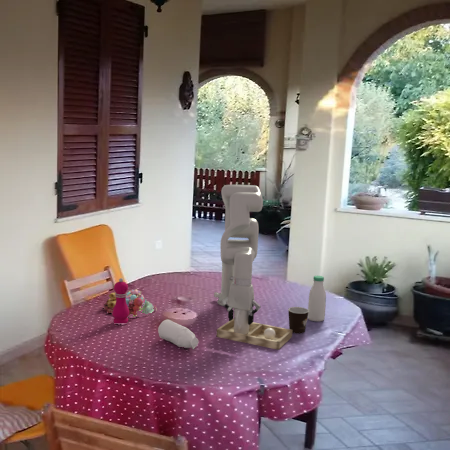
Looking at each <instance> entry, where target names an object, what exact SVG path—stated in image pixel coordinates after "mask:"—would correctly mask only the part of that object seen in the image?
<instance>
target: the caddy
mask: <svg viewBox="0 0 450 450" xmlns="http://www.w3.org/2000/svg"><path fill="white" fill-rule="evenodd" d="M267 328H272V329H273V330H274V331H275V334H276V335H275V338H274V339H272V340H270V339H266V338H265V337H264V331H265V330H266V329H267ZM292 331H293V330H291V329H289V328H285V327H279V326H274V325H269V324H264V323H258V322H254V321H253V323H252V324H250V325H249V333H248V334H240V333H236V332H234V317H233V320H231V321H229V320H228V321H227V322H225V323H224V324H223V325H221V326H220V327H218V328H217V329H216V337H217V338H219V339H220V338H222V339H226V340H230V341H234V342H239V343H240V342H241V343H245V344H249V345H255V346H259V347H264V348H269V349H273V350H277V351H278V350H279V351H280V349H281V348H283V346H284V345H286V344H287V343H288V341H290V339H291V338H293V333H292Z"/></svg>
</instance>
